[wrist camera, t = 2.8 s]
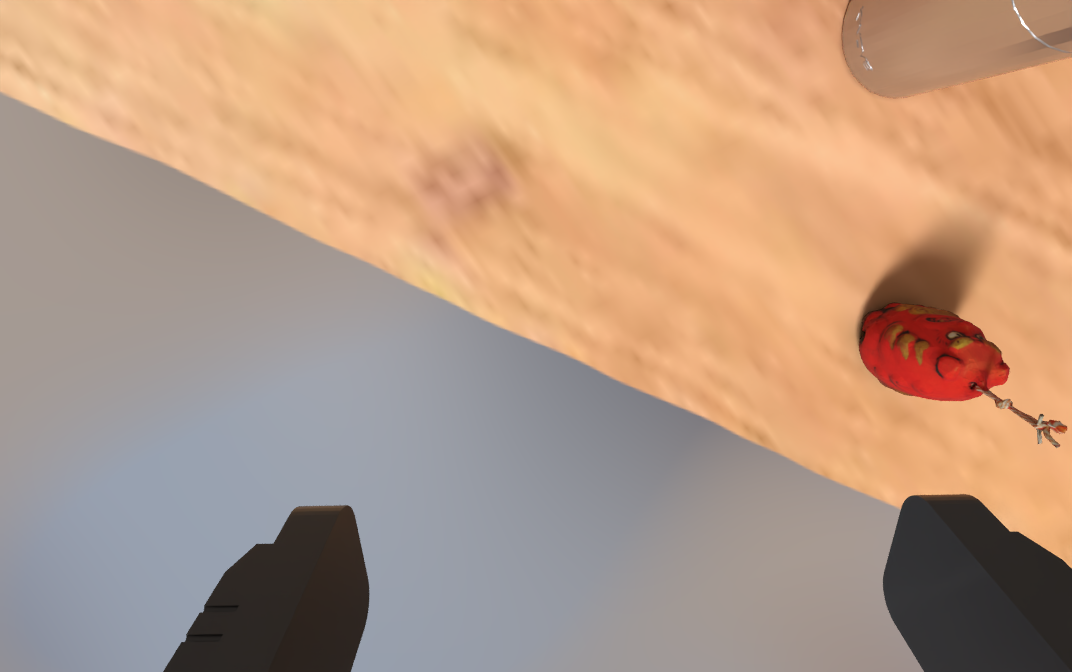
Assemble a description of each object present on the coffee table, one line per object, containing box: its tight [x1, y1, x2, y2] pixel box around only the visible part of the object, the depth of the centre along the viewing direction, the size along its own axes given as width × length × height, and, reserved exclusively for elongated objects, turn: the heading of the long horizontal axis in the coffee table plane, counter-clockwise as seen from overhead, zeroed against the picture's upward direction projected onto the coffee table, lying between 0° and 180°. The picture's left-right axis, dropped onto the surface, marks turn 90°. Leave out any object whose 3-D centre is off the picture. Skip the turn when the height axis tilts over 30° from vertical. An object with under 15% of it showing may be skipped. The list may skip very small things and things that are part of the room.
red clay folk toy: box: [859, 303, 1067, 448], centre depth 42 cm, size 8×7×15 cm
